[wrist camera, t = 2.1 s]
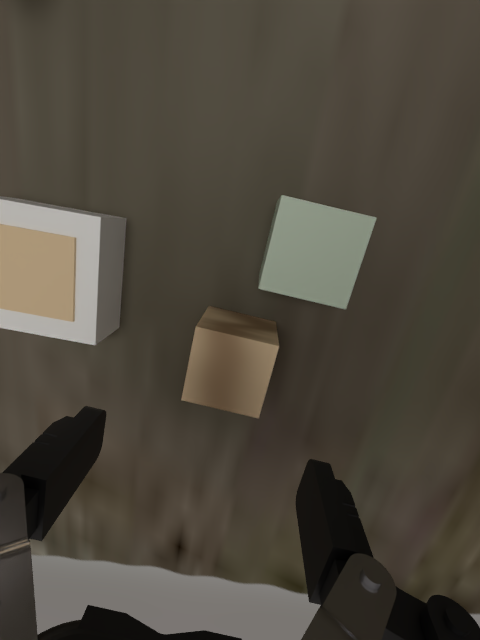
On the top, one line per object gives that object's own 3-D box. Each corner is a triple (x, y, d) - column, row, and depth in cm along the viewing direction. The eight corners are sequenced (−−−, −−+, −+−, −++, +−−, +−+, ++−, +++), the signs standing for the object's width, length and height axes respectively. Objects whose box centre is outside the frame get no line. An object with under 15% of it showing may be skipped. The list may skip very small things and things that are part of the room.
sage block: (350, 219, 21) (376, 217, 17) (327, 291, 23) (345, 309, 18) (277, 201, 21) (281, 194, 17) (258, 275, 23) (258, 288, 18)
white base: (128, 218, 22) (99, 217, 18) (120, 326, 25) (93, 346, 21) (15, 197, 23) (-39, 192, 19) (18, 307, 25) (-28, 324, 21)
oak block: (275, 321, 24) (279, 346, 19) (259, 381, 25) (258, 418, 20) (209, 305, 24) (195, 326, 19) (196, 366, 25) (181, 399, 20)
